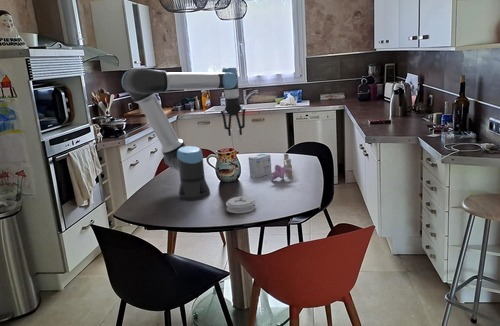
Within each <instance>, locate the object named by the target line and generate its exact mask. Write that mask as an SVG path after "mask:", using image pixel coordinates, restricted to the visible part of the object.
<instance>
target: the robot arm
mask: <svg viewBox="0 0 500 326" xmlns="http://www.w3.org/2000/svg"><path fill="white" fill-rule="evenodd" d="M238 76H239V75H238V69H237V67H235V66H231V67H229V66H228V67H223V68H222V71H221V72H167V71H166V70H164V69H163V70H162V69H161V70H160V69H151V68H146V67H145V68H144V67H142V68H141V67H139V68H137V67H136V68H135V67H133V68H132V69H131V68H129V69H128V70H126V71H125V72H124V74H123V75H122V78H121V86H122V88H123V90H124V91H125V92H126V93H127V94H129V96H130V98H131V99H132V101H133V103H135V104H138V105H139V107H140V109H141V111H142V112H143V114H144V117H145V118H146V119H147V121H148V123H149V125H150V127H151V128H152V130H153V132H154V134H155V136H156V137H157V139H158V141H159V143H160V144H161V145H160V146H162V147H161V154H163V160H164V163H165V164H166V166H168V167H169V168H170V169H172V170H175V171H178V172H179V179H180V183H179V188H178V193H177V194H178V195H177V196H178V199H179V200H181V201H185V202H187V201H189V202H193V201H199V200H203V199H206V198H208V197H210V195H211V191H210V187H209V186H208V183H207V180H206V178H205V177H206V176H205V168H204V167H205V165H204V155H203V151H202V149H201V148H199V147H198V146H193V145H188V146H187V145H186V144H185V142H184V140H183V139H181V138H179V137H178V135H177V134H176V132H175V130H174V128H173V126H172V124H171V122H170V121H169V119H168V117H167V115H166V113H165V112H164V110H163V109H164V108H163V107H162V106H161V104H160V101H159V100H158V98H157V96H156V95H157V94H158V93H167V91H172V90H174V91H175V90H177V91H178V90H181V91H182V90H213V89H215V90H217V89H222V90H223V91H224V100H225V101H224V102H225V107H224V109H221V111H220V114H221V115H222V121H223V128H224V129H225V130H227V132H228V136H229V137H230V141H231V143H234V136H233V129H232V128H231V127H232V126H231V125H232V116H235V117H236V120H237V126H238V128H237V134H238V142H241V136H242V135H243V129H244V128H245V125H246V123H245V122H246V121H245V120H246V118H245V115H246V114H245V113H246V110H247V108H243V107H242V106H241V105H240V104H241V103H240V102H241V101H240V100H241V99H240V97H239V96H240V91H239V80H238V79H239V77H238ZM240 112H241V113H242V117H241V118H242V120H241V121H240V117H239V114H240ZM226 113H227V114H228V125H227V118H226Z"/></svg>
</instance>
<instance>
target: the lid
mask: <svg viewBox="0 0 500 326" xmlns="http://www.w3.org/2000/svg"><path fill="white" fill-rule="evenodd" d="M256 202H257V201H256V199H255V198H253V197H252V196H246V195H243V196H235V197H231V198H230V199H228V200H227V201H226V202H225V206H226V211H227V212H229V213H233V214H245V213H249V212H252V211H254V210H255V209H257V205H256Z"/></svg>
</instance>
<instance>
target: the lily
mask: <svg viewBox="0 0 500 326" xmlns="http://www.w3.org/2000/svg"><path fill="white" fill-rule="evenodd" d="M287 167H288V165H286V166H284V165H283V167H282V166H281V165H279V164H275V165H274V171H273V172H272V173H271V174H268V175H269V176H272V177H271V179H270V181H274V180H276V179H277V178H280V179H281V180H283V183H284V184H286V182H285V175H286V173H287V172H289V171H291V170H292V171H293V168H292V169H288V168H287Z"/></svg>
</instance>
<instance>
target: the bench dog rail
mask: <svg viewBox="0 0 500 326" xmlns="http://www.w3.org/2000/svg"><path fill="white" fill-rule="evenodd" d="M286 165H288V167H287V168H288V169H292V170H291V171H289V172H287V173H285V176H286V177H289V178H290V177H293V164H292V159H291V158H290V157H289V153H286V152H285V153H283V167H284V166H286Z"/></svg>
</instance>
